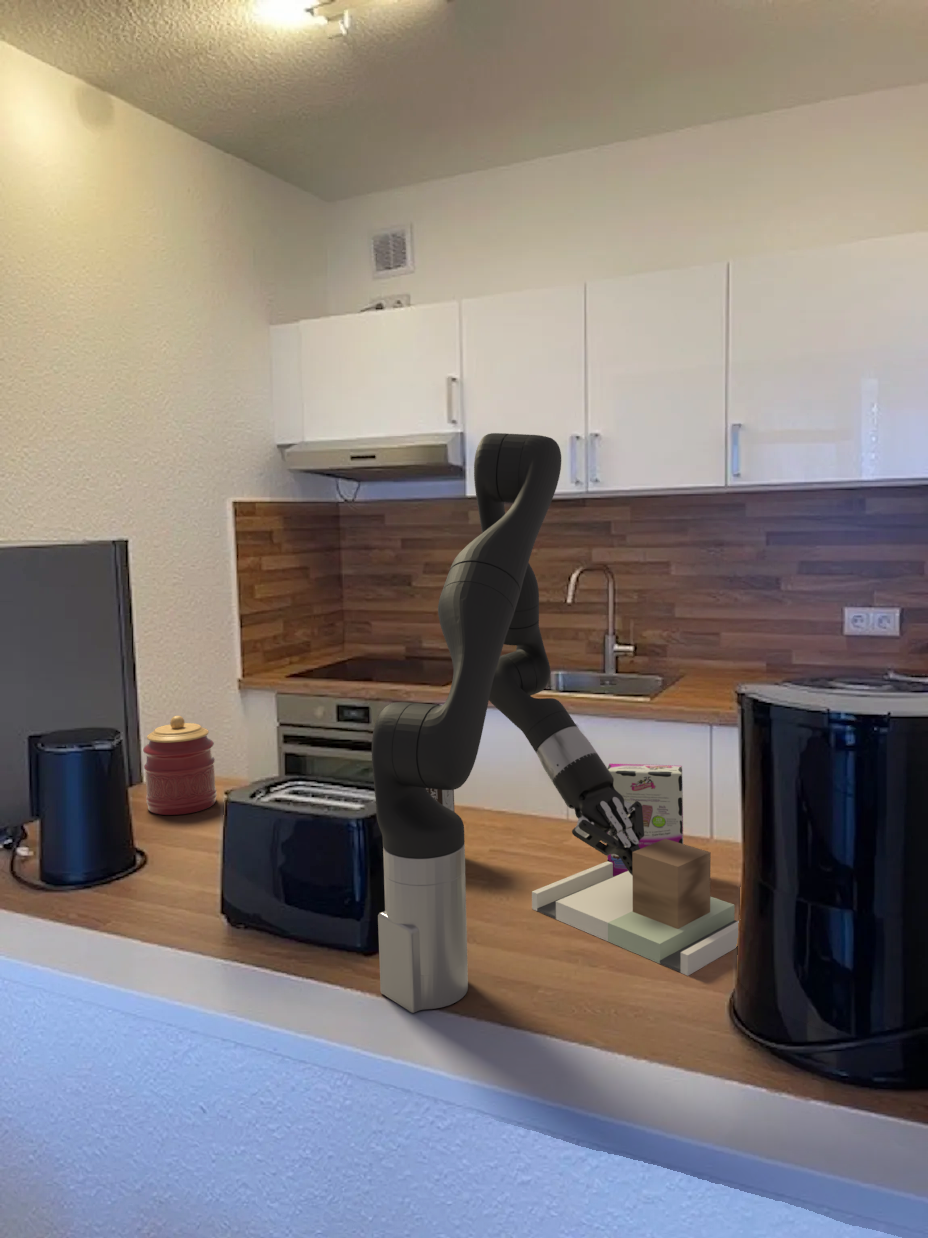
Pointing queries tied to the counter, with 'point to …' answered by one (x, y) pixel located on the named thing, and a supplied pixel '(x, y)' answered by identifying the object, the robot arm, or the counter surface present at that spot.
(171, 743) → the canister
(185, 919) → the counter surface
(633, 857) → the walnut block
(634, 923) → the platform
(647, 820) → the candy bar box
